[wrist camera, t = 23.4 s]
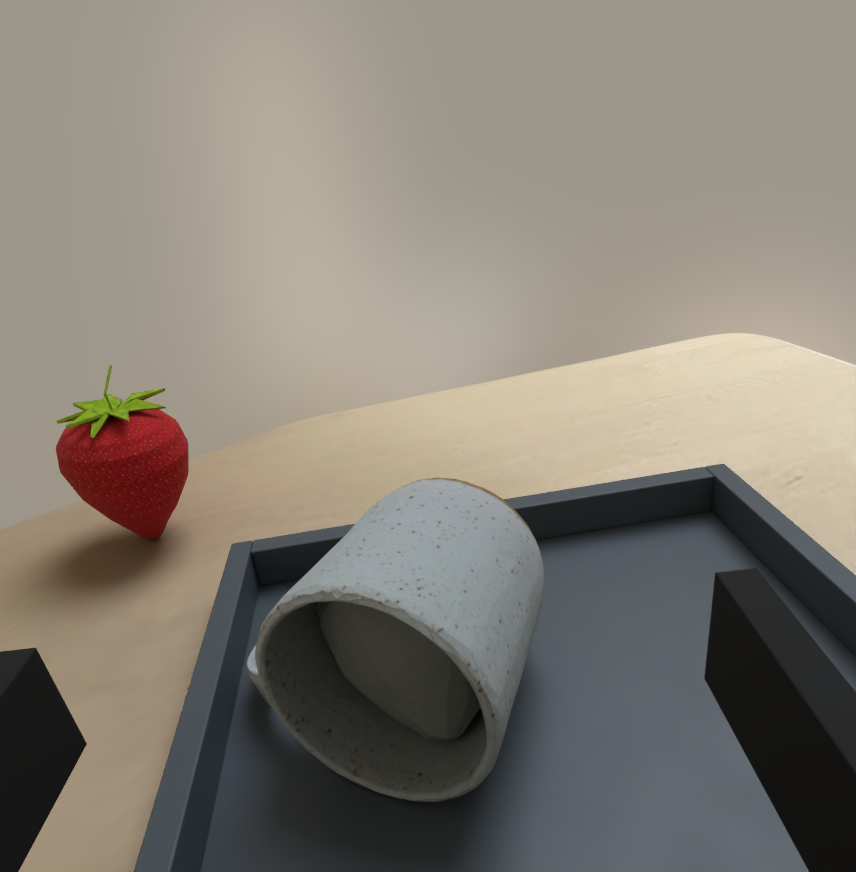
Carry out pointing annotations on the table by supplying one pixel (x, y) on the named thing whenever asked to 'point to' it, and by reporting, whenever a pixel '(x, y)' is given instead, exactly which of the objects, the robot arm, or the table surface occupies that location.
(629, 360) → the table surface
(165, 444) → the strawberry
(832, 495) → the table surface
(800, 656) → the robot arm
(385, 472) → the table surface
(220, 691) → the shallow grey tray
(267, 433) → the table surface
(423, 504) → the ceramic mug
